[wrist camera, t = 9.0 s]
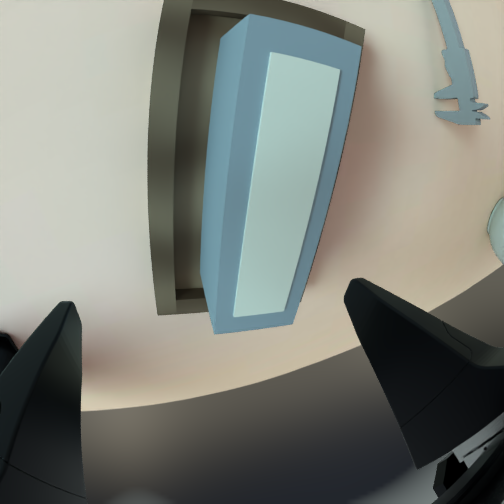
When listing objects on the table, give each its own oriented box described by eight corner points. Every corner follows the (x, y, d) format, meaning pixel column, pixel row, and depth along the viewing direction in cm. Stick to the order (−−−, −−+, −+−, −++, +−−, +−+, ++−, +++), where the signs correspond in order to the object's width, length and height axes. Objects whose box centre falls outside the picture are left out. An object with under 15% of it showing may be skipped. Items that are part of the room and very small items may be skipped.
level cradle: (291, 285, 25) (300, 301, 24) (156, 296, 22) (157, 315, 20) (346, 32, 14) (365, 29, 12) (167, -3, 10) (167, -14, 8)
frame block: (301, 52, 13) (363, 46, 8) (263, 268, 22) (293, 325, 17) (220, 38, 12) (250, 13, 7) (199, 272, 20) (214, 336, 16)
